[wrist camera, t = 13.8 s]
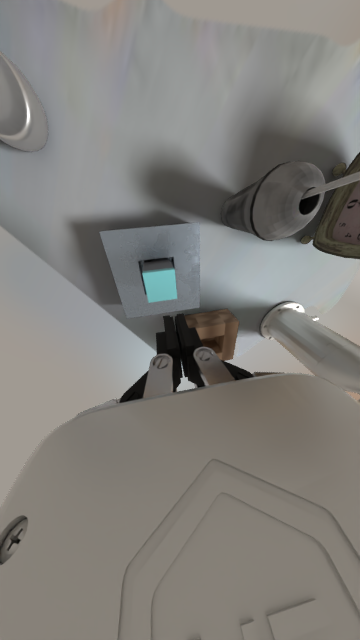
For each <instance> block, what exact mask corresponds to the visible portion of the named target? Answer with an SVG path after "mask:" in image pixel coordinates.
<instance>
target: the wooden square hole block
mask: <svg viewBox="0 0 360 640" xmlns="http://www.w3.org/2000/svg"><path fill="white" fill-rule="evenodd" d="M184 317H185V319H186V322H187V325H188V328H192V327H195V328H196V330H197V333H198V335H199V337H200V340H201V342H202V344H203V347H208V348H211V349H212V350H213V351H214V352H215V353H216V354H217V356H218V357H219V359H220V360H223V361H225V360H230V359H233V355H234V349H235V343H236V338H237V332H238V326H239V321H238V320H237V318H236V317H235V316H234V315H233V314H232V313H231V312H230V311H229V310H228V309H222V310H216V311H210V312H203V313H197V314H191V315H184Z"/></svg>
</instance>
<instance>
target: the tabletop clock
mask: <svg viewBox="0 0 360 640" xmlns="http://www.w3.org/2000/svg"><path fill="white" fill-rule="evenodd" d="M359 171H360V152H359V153H358V155H357V156H356V157H355V159H354V160H353V161H352V163H351V164H350V165H349V167H348V168H347V170H346V164H345V163H340V164H338V165H337V166H336V167H335V168H334V169H333V173H332V174H333V175H334V176H339V175H341V174H343V176H342V178H343V177H346V176H349V175H351V174H354V173H357V172H359ZM312 239H313V246H314V247H315V248H317V249H318V250H320V251H322V252H325V253H328V254H332V255H336V256H340V257H344V258H354V259H360V180H358V181H355V182H352V183H349V184H346V185H343V186H340V187H337V188H336V189H335V191H334V193H333V195H332V196H331V198H330V200H329V202H328V204H327V206H326V208H325V210H324V213H323V215H322V217H321V220H320V222H319V224H318V227H317V229H316V232H315V235H314V236H312V237H310V236H304V237H303V238H302V239H301V243H302V244H307V243H309V242H310V241H311V240H312Z"/></svg>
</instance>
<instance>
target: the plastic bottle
mask: <svg viewBox="0 0 360 640" xmlns="http://www.w3.org/2000/svg"><path fill="white" fill-rule="evenodd" d="M47 138H48V123H47V118H46V115H45V111H44V109H43V106H42V104H41V102H40V100H39V98H38V96H37V95H36V93H35V91H34V90H33V88H32V86H31V85H30V83H29V82H28V80H27V79H26V77H25V76H24V74H23V73H22V72H21V71H20V70H19V69H18V67H17V66H16V65H15V64H14V63H13V62H12V61H11V60H9V59H8V58H7V57H6V56H5V55H4V54H3V53H2V52H1V51H0V139H1V140H2V141H4V142H5V143H6V144H8V145H10V146H12V147H14V148H17V149H20V150H24V151H28V152H35V151H39V150H40V149H42V148H43V147H44V146H45V144H46V142H47Z"/></svg>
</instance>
